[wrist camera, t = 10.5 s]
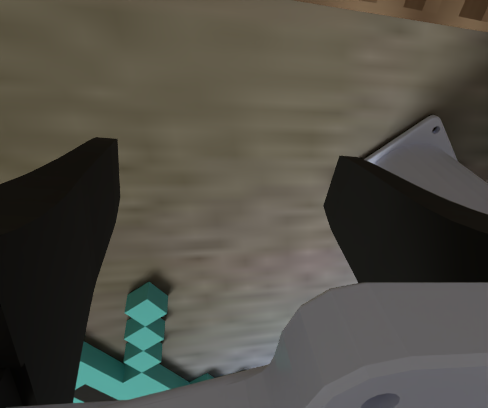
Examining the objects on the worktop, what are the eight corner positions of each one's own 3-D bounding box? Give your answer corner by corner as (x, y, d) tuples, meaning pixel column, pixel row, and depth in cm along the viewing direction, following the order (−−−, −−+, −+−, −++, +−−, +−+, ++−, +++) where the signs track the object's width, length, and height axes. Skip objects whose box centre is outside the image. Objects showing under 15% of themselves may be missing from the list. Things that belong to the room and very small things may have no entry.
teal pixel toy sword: (149, 277, 28) (-19, 382, 33) (147, 299, 27) (-31, 407, 31) (276, 376, 39) (137, 445, 43) (281, 396, 37) (134, 466, 42)
